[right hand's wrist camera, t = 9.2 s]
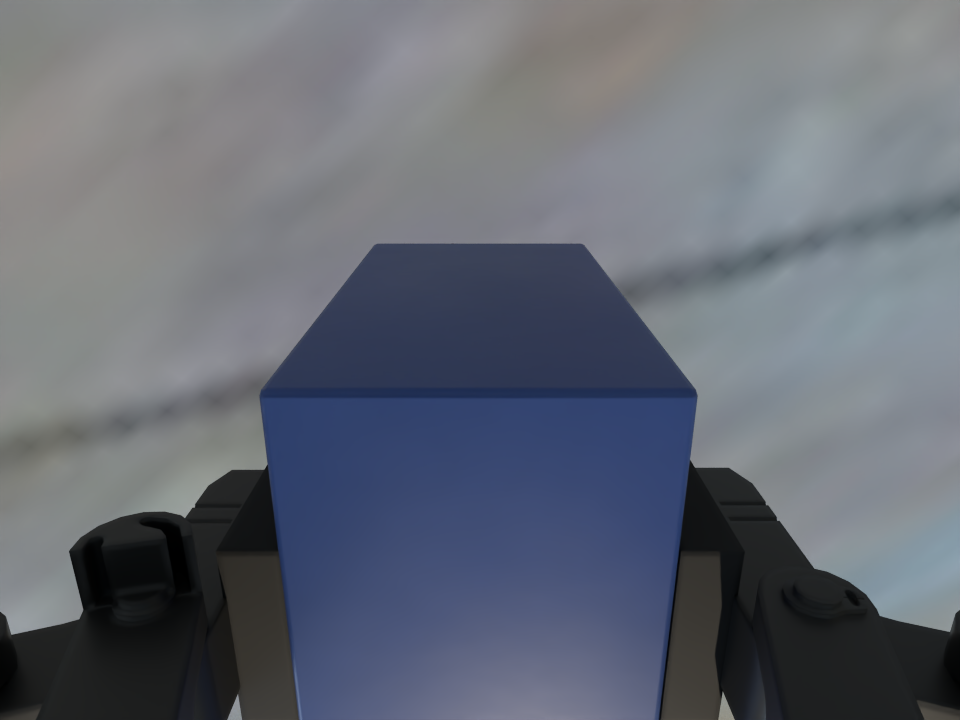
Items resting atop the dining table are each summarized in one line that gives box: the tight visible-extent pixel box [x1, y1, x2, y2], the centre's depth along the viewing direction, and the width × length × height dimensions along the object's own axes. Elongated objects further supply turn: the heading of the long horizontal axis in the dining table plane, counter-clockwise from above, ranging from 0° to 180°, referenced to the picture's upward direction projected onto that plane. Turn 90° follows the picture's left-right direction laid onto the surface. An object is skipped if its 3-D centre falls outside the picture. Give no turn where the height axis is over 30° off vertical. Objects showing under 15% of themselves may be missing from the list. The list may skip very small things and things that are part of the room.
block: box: [260, 244, 698, 720], centre depth 13 cm, size 5×7×9 cm
